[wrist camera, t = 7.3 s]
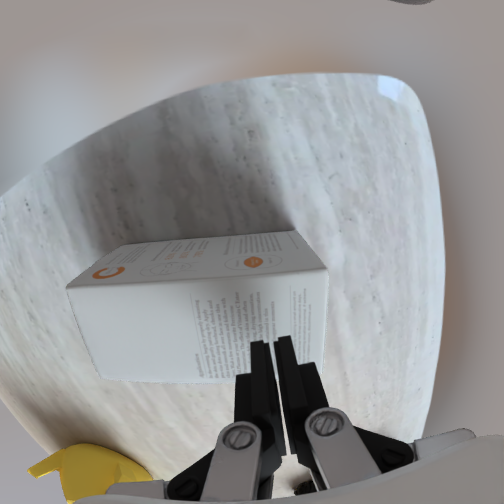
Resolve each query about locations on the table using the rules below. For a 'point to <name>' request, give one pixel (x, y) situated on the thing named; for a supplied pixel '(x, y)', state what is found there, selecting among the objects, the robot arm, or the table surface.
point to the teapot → (89, 470)
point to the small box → (201, 307)
